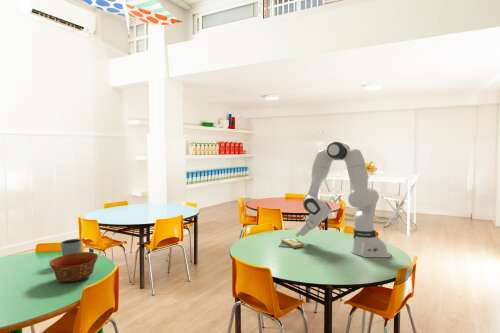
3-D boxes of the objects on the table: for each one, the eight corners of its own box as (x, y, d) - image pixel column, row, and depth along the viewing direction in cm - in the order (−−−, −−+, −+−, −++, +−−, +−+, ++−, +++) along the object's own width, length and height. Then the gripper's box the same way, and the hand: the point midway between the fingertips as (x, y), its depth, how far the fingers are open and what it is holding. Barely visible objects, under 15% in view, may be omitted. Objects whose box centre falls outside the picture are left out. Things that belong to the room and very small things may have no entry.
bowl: (71, 290, 146) (71, 268, 145) (39, 283, 154) (38, 262, 153) (108, 274, 165) (107, 254, 165) (77, 268, 173) (76, 250, 173)
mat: (297, 239, 229) (297, 239, 229) (294, 247, 210) (294, 247, 210) (283, 239, 231) (283, 238, 231) (279, 246, 212) (279, 246, 212)
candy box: (291, 240, 226) (281, 241, 222) (291, 237, 226) (281, 238, 222) (304, 246, 211) (293, 247, 208) (304, 243, 211) (293, 244, 208)
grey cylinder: (85, 261, 185) (85, 240, 185) (68, 266, 177) (67, 244, 176) (75, 258, 190) (74, 238, 190) (57, 263, 182) (56, 242, 181)
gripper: (308, 215, 227) (294, 228, 230) (306, 221, 207) (291, 235, 210) (315, 222, 226) (301, 235, 229) (314, 228, 206) (298, 243, 209)
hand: (296, 235), depth 219 cm, fingers closed
